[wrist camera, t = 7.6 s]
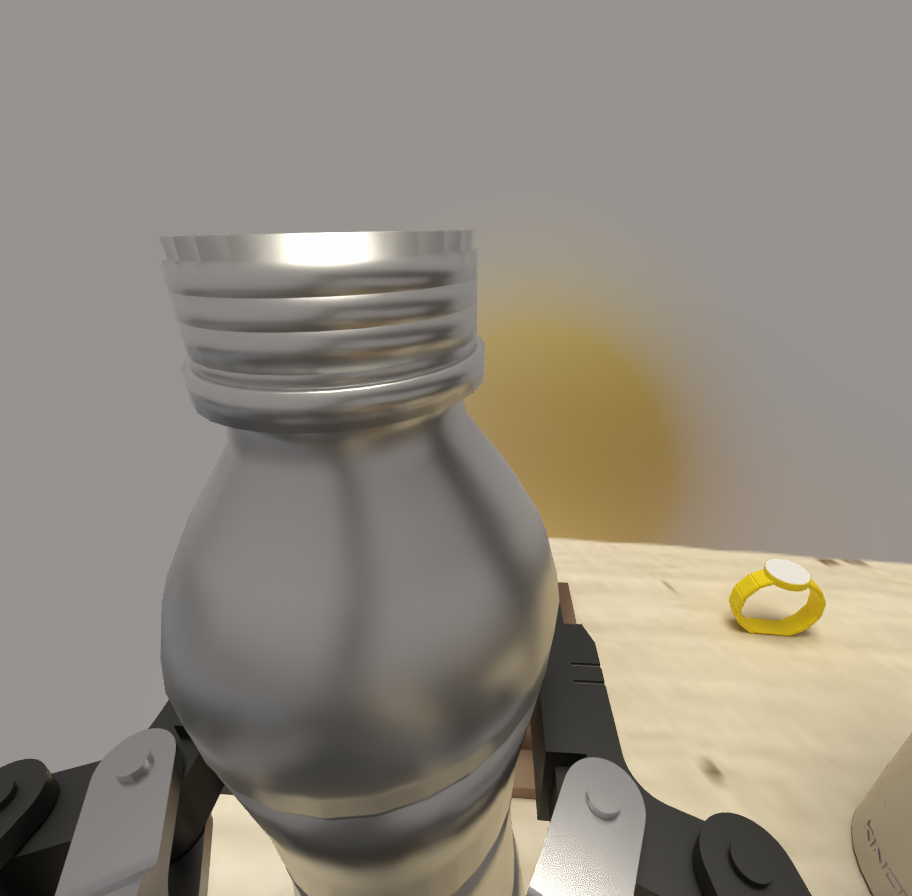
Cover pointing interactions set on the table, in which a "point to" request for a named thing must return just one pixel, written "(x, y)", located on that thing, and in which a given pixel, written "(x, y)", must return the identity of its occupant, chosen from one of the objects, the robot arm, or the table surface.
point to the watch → (785, 578)
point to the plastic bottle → (355, 561)
